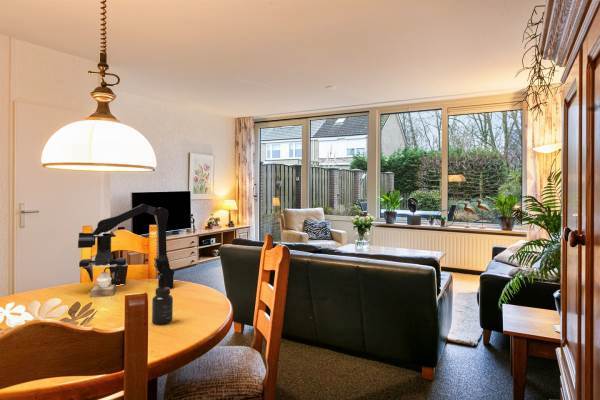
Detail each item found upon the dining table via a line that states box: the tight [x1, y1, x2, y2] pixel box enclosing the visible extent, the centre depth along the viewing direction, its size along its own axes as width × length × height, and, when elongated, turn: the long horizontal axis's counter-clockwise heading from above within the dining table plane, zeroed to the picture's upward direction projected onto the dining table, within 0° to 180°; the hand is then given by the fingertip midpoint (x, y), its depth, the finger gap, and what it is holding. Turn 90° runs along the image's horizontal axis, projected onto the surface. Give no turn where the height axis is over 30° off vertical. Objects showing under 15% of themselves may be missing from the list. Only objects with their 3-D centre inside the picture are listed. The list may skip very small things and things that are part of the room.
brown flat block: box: [90, 284, 117, 298], centre depth 165 cm, size 9×9×3 cm
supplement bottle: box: [151, 287, 174, 326], centre depth 127 cm, size 7×7×12 cm
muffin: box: [96, 271, 112, 288], centre depth 165 cm, size 6×6×7 cm
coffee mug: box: [103, 263, 129, 285], centre depth 185 cm, size 12×9×10 cm
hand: (103, 281), depth 165 cm, fingers open, 9 cm apart
